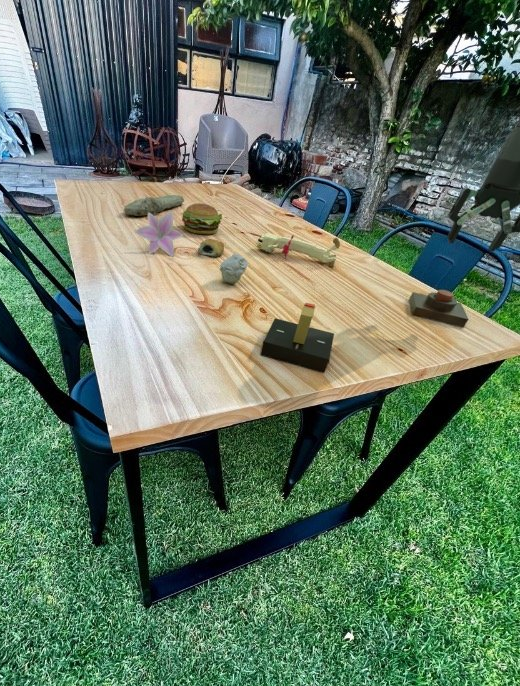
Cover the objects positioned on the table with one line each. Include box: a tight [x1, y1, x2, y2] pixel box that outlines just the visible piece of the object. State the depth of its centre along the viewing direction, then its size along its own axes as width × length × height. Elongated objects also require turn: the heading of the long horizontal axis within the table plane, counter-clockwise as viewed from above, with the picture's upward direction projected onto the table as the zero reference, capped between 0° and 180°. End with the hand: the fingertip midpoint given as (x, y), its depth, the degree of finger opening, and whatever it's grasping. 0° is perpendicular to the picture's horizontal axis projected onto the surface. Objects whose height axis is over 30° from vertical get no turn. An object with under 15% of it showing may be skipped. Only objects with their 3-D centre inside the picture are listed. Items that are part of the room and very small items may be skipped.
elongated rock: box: [123, 194, 185, 217], centre depth 133 cm, size 35×5×10 cm
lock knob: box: [293, 302, 316, 344], centre depth 63 cm, size 5×2×6 cm, turn 161°
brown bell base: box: [408, 291, 470, 328], centre depth 86 cm, size 12×10×4 cm
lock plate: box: [260, 317, 335, 373], centre depth 66 cm, size 12×10×3 cm
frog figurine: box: [219, 253, 248, 285], centre depth 86 cm, size 6×7×7 cm
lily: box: [134, 210, 184, 257], centre depth 98 cm, size 12×12×10 cm
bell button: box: [435, 289, 455, 302], centre depth 85 cm, size 4×4×2 cm
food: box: [180, 202, 223, 236], centre depth 117 cm, size 14×14×8 cm
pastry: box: [197, 238, 225, 258], centre depth 103 cm, size 9×7×4 cm
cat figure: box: [255, 232, 341, 268], centre depth 106 cm, size 10×9×25 cm
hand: (470, 246), depth 77 cm, fingers open, 8 cm apart
